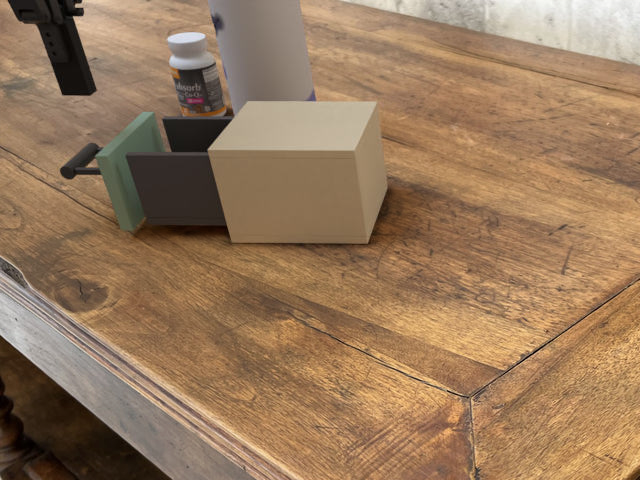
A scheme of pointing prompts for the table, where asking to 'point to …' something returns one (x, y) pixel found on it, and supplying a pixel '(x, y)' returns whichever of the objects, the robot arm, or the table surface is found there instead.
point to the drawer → (158, 171)
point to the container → (263, 50)
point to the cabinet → (301, 172)
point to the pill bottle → (195, 75)
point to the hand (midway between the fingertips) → (79, 92)
